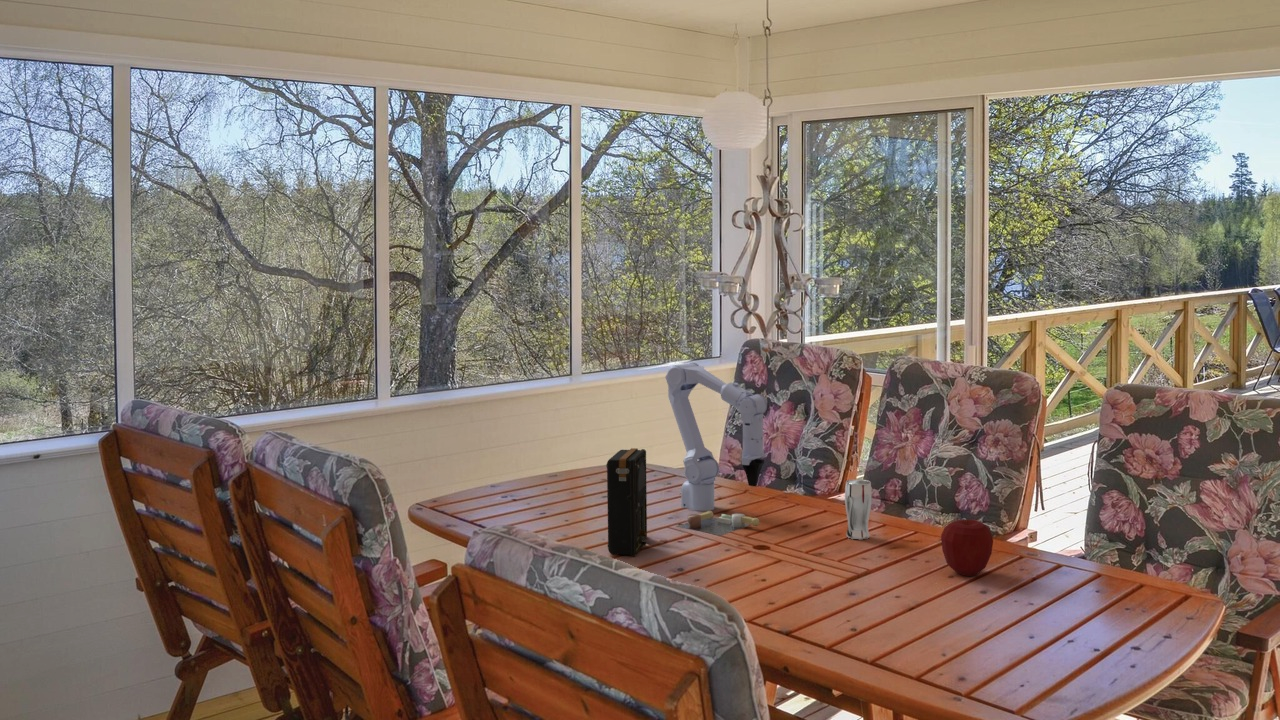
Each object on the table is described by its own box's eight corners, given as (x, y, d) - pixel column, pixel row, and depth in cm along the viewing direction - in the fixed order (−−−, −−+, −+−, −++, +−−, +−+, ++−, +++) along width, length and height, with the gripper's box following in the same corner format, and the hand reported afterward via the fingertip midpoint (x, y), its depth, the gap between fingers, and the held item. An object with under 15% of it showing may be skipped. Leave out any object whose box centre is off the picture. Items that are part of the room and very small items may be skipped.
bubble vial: (717, 521, 285) (717, 514, 285) (722, 520, 287) (722, 512, 287) (729, 524, 283) (729, 516, 283) (734, 522, 285) (734, 514, 284)
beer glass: (841, 538, 271) (841, 483, 270) (848, 532, 277) (849, 478, 276) (867, 541, 268) (867, 485, 267) (874, 535, 274) (874, 480, 273)
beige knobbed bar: (694, 529, 278) (694, 517, 278) (685, 526, 281) (685, 514, 280) (716, 522, 284) (716, 511, 284) (707, 520, 287) (707, 509, 286)
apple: (952, 562, 249) (953, 509, 248) (999, 571, 242) (1001, 516, 241) (932, 574, 240) (933, 519, 239) (980, 584, 233) (982, 527, 231)
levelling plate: (676, 530, 281) (676, 526, 281) (706, 520, 292) (706, 516, 292) (720, 540, 271) (720, 535, 271) (750, 529, 282) (750, 524, 282)
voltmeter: (639, 557, 256) (637, 459, 254) (605, 556, 258) (604, 458, 255) (650, 540, 271) (649, 448, 269) (619, 539, 273) (617, 447, 271)
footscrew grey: (728, 525, 281) (728, 514, 281) (737, 523, 283) (737, 511, 283) (754, 531, 275) (754, 519, 274) (762, 529, 277) (762, 517, 277)
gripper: (758, 443, 279) (758, 492, 281) (773, 434, 292) (773, 481, 294) (734, 441, 282) (734, 490, 283) (750, 433, 295) (750, 479, 297)
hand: (752, 485), depth 289 cm, fingers closed
